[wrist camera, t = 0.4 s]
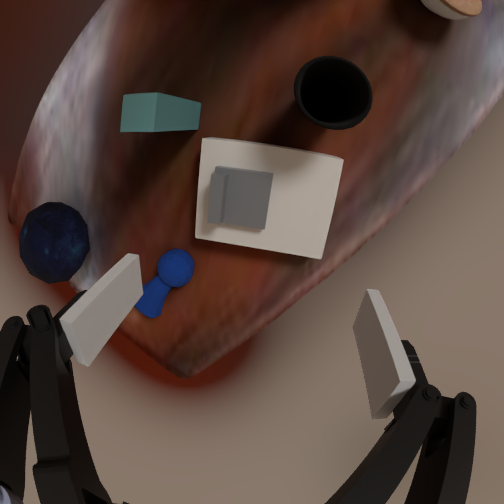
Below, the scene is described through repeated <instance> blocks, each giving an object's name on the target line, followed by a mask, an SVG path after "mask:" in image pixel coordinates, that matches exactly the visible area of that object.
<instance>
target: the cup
mask: <svg viewBox="0 0 504 504" xmlns="http://www.w3.org/2000/svg"><path fill="white" fill-rule="evenodd" d="M294 95H295V99H296V102H297V104H298V106H299V108H300V110H301V111H302V112H303V114H304V115H305V116H306V117H307V118H308V119H310V120H311V121H312V122H314V123H315V124H317V125H319V126H322V127H324V128H328V129H333V130H343V129H347V128H351V127H354V126H355V125H357V124H359V123H360V122H361V121H362V120H363V119H364V118H365V117H366V116H367V114H368V113H369V111H370V109H371V105H372V89H371V86H370V83H369V81H368V79H367V77H366V75H365V74H364V73H363V72H362V71H361V69H360V68H359V67H357V66H356V65H355V64H353V63H352V62H350V61H348V60H346V59H343V58H340V57H335V56H322V57H318V58H314V59H313V60H311V61H309V62H307V63H306V64H305V65H304V66H303V67H302V68H301V69H300V70H299V72H298V74H297V76H296V79H295V83H294Z"/></svg>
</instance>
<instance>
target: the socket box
mask: <svg viewBox="0 0 504 504" xmlns="http://www.w3.org/2000/svg"><path fill="white" fill-rule="evenodd" d="M343 161H344V160H343V159H341V158H339V157H336V156H332V155H327V154H322V153H317V152H312V151H307V150H302V149H296V148H290V147H284V146H278V145H272V144H265V143H258V142H250V141H242V140H233V139H223V138H212V137H209V138H202V147H201V158H200V170H199V182H198V196H197V211H196V229H195V238H199V239H205V240H211V241H217V242H223V243H229V244H235V245H241V246H247V247H253V248H259V249H264V250H270V251H276V252H282V253H288V254H294V255H299V256H305V257H311V258H317V259H321V258H322V254H323V250H324V246H325V242H326V238H327V234H328V230H329V226H330V222H331V217H332V213H333V209H334V204H335V200H336V195H337V190H338V186H339V181H340V176H341V171H342V166H343ZM216 166H224V167H232V168H240V169H247V170H254V171H261V172H268V173H274V174H273V180H272V187H271V193H270V200H269V206H268V213H267V219H266V226H265V230H264V229H258V228H252V227H246V226H240V225H234V224H227V223H221V224H220V225H218V224H212V223H207V219H208V205H209V193H210V181H211V175H212V174H213V173H215V167H216Z"/></svg>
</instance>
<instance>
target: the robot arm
mask: <svg viewBox="0 0 504 504" xmlns="http://www.w3.org/2000/svg"><path fill="white" fill-rule="evenodd" d="M142 295H143V288H142V280H141V271H140V262H139V255H135V254H130V253H128V254H127V255H126V256H124V257H123V258H122V259H121V260H120V261H119V262H118V263H117V264H115V265H114V266H113V267H112V268H111V269H110V270H109V271H108V272H107V273H106V274H105V275H104V276H102V277H101V278H100V279H99V280H98V281H97V282H96V283H95V284H94V285H93V286H92V287H91V288H90V289H89V290H84V291H82V292H80V293H78V294H77V295H76V296H74V297H73V299H72V300H71V301H69V302H68V303H67V305H65V306H64V307H63V308H62V309H61V310H60V311H59V312H58V313H57V314H56V315H55V316H54V318H53V317H52V315H51V312H50V309H49V307H47V306H46V305H37V306H35V307H33V308H31V309H30V310H29V311H28V312H27V315H26V316H27V319H28V321H29V324H30V325H25V324H24V322H23V319H22V318H21V317H19V316H13V317H10V318H9V319H7V320H6V321H5V323H4V324H3V327H2V329H1V331H0V504H23V502H22V501H23V497H24V489H25V461H26V445H27V434H28V425H29V417H30V411H31V414H32V425H33V433H34V441H35V447H36V453H37V460H38V461H37V463H36V464H35V465H33V476H34V480H35V484H36V488H37V492H38V496H39V500H40V503H41V504H114V503H112V501H111V499H110V497H109V495H108V493H107V491H106V490H105V488H104V487H103V485H102V484H101V482H100V480H99V477H98V475H97V472H96V469H95V466H94V463H93V460H92V457H91V453H90V450H89V447H88V443H87V439H86V436H85V432H84V428H83V424H82V420H81V415H80V410H79V405H78V400H77V395H76V389H75V383H74V376H73V369H72V362H71V360H70V357H71V356H72V355H73V354H74V356H75V359H76V360H77V362H78V363H80V364H83V365H85V366H87V367H89V366H90V364H91V363H92V362H93V360H94V359H95V357H96V356H97V355H98V353H99V352H100V350H101V349H102V348H103V346H104V345H105V343H106V342H107V341H108V339H109V338H110V337H111V335H112V334H113V333H114V331H115V330H116V329H117V327H118V326H119V325H120V323H121V322H122V321H123V319H124V318H125V317H126V315H127V314H128V313H129V312H130V310H131V309H132V308H133V306H134V305H135V304H136V303H137V301H138V300H139V299H140V297H141V296H142ZM353 330H354V334H355V338H356V342H357V346H358V350H359V355H360V360H361V364H362V369H363V373H364V378H365V383H366V388H367V393H368V398H369V404H370V409H371V415H372V419H381V418H387V417H388V416H389V415H390V414H391V413H392V411H393V414H394V419H393V420H392V421H391V422H390V423H389V424H388V426H387V427H386V428H385V429H384V430H385V432H384V433H383V434H382V436H381V437H380V439H379V440H378V442H377V443H376V444H375V446H374V447H373V448H372V450H371V451H370V452H369V454H368V455H367V457H366V458H365V459H364V460H363V461H362V463H361V464H360V465H359V466H358V468H357V469H356V470H355V471H354V472H353V474H352V475H351V476H350V477H349V478H348V479H347V481H346V482H345V483H344V484H343V485H342V486H341V487H340V488H339V489H338V491H337V492H336V493H335V494H334V495H333V496H332V497H331V498H330V499H329V500H328V501H327V502H326V503H325V504H385V503H386V502H387V501H388V499H389V498H390V496H391V495H392V493H393V492H394V491H395V489H396V488H397V486H398V485H399V483H400V482H401V480H402V478H403V477H404V475H405V474H406V472H407V470H408V469H409V467H410V465H411V463H412V462H413V460H414V458H415V456H416V455H417V453H418V451H419V449H420V447H421V445H422V449H421V452H420V456H419V460H418V464H417V467H416V471H415V474H414V477H413V480H412V484H411V487H410V489H409V492H408V495H407V498H406V501H405V503H404V504H465V502H466V497H467V493H468V488H469V483H470V477H471V471H472V464H473V456H474V446H475V433H476V401H475V400H474V398H473V397H472V396H471V395H470V394H468V393H466V392H461V393H459V394H458V395H457V396H456V397H455V398H449V397H444V396H441V393H440V391H439V390H438V389H437V388H436V387H434V386H433V385H430V384H428V381H427V379H426V376H425V373H424V371H423V368H422V366H421V364H420V363H419V362H420V361H419V359H418V357H417V354H416V351H415V349H414V347H413V346H412V345H411V344H410V343H409V341H407V340H400V337H399V335H398V333H397V330H396V328H395V325H394V323H393V321H392V319H391V316H390V314H389V312H388V309H387V307H386V305H385V303H384V301H383V298H382V296H381V294H380V292H379V290H372V289H366V292H365V295H364V298H363V301H362V303H361V306H360V309H359V312H358V314H357V317H356V320H355V322H354V324H353ZM17 356H18V360H17ZM16 360H17V361H16ZM422 443H423V444H422ZM123 504H129V503H126V502H123Z"/></svg>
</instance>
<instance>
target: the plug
mask: <svg viewBox="0 0 504 504" xmlns="http://www.w3.org/2000/svg"><path fill="white" fill-rule="evenodd" d="M200 110H201V103H199V102H195V101H191V100H187V99H183V98H179V97H175V96H171V95H166V94H162V93H140V94H127V95H124V96H123V105H122V116H121V130H120V132H160V131H176V130H198V127H199V118H200Z"/></svg>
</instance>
